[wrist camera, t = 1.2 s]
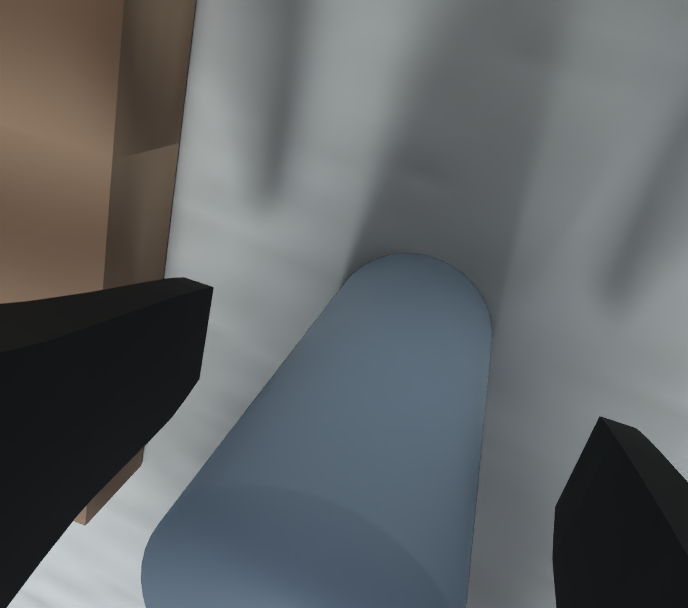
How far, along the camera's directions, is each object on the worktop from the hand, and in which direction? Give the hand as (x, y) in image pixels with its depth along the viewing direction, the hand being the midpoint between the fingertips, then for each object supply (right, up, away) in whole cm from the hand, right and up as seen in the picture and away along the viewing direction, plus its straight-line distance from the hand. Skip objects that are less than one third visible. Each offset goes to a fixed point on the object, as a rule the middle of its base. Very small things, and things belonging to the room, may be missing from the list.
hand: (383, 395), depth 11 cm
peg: (+1, +1, +3) cm, 3 cm away
